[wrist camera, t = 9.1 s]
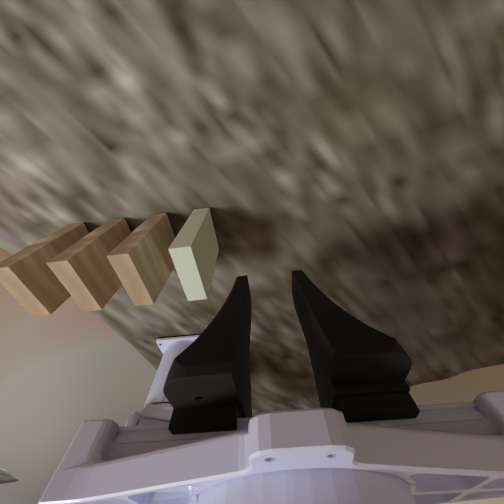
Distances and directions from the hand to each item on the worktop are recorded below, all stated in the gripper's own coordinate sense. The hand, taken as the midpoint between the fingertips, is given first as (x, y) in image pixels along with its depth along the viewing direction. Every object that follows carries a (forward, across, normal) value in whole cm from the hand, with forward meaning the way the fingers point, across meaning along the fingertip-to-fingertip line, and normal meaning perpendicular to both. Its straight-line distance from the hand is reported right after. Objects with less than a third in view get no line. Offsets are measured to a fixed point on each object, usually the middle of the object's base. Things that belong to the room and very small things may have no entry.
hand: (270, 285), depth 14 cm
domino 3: (+10, +10, 0) cm, 14 cm away
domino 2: (+10, +15, 0) cm, 18 cm away
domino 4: (+10, +6, 0) cm, 12 cm away
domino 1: (+10, +20, 0) cm, 22 cm away
